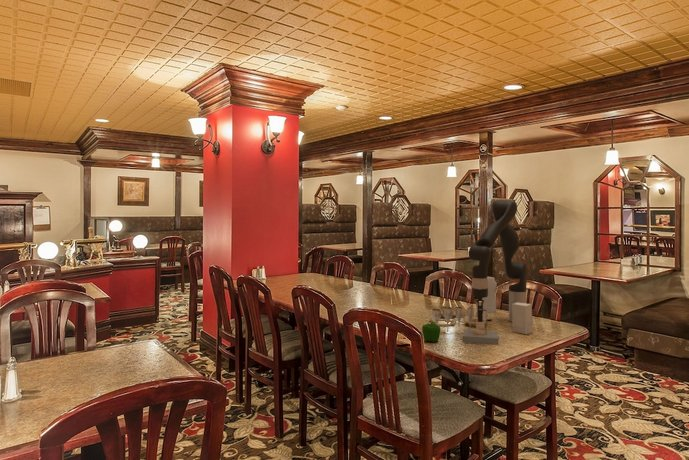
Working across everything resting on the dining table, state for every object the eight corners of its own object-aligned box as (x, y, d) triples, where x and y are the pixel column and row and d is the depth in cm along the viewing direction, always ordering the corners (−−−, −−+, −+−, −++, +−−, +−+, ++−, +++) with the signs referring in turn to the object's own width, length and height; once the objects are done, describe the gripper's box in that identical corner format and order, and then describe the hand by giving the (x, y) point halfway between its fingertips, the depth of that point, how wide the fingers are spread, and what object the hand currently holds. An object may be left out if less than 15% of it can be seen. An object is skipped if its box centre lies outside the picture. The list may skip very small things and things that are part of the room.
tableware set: (427, 326, 249) (427, 319, 249) (431, 314, 277) (431, 308, 277) (494, 330, 239) (494, 322, 239) (491, 317, 268) (491, 310, 267)
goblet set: (432, 334, 232) (432, 308, 232) (431, 331, 238) (431, 306, 237) (488, 335, 229) (488, 309, 228) (486, 332, 234) (486, 306, 234)
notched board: (463, 335, 228) (463, 329, 228) (496, 337, 224) (496, 331, 223) (463, 342, 216) (463, 336, 216) (498, 344, 212) (498, 338, 212)
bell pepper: (419, 339, 222) (419, 319, 222) (434, 338, 225) (434, 318, 224) (427, 344, 214) (427, 323, 214) (443, 342, 216) (442, 322, 216)
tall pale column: (480, 312, 278) (480, 277, 277) (478, 311, 282) (478, 276, 281) (497, 312, 278) (497, 276, 277) (495, 311, 282) (495, 276, 281)
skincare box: (533, 333, 231) (533, 304, 230) (525, 335, 227) (525, 305, 227) (518, 329, 238) (518, 301, 237) (511, 331, 234) (511, 303, 234)
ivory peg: (476, 337, 224) (475, 317, 224) (484, 337, 223) (484, 317, 223) (476, 339, 221) (476, 319, 220) (484, 340, 219) (484, 319, 219)
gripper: (471, 284, 229) (472, 315, 230) (471, 289, 215) (472, 322, 216) (487, 284, 227) (487, 316, 227) (488, 289, 213) (488, 323, 214)
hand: (480, 319), depth 222 cm, fingers open, 8 cm apart
